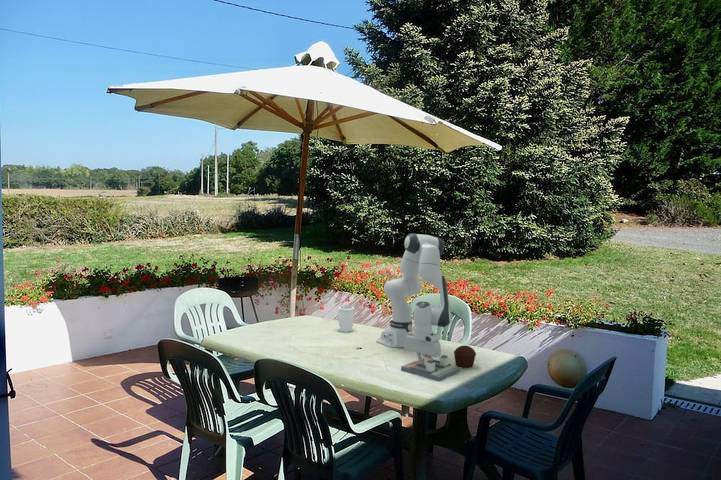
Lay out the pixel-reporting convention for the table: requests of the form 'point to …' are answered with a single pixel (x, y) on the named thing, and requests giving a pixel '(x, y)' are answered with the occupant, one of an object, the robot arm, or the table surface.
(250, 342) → the table surface
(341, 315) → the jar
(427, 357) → the breaker mid
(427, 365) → the breaker
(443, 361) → the breaker
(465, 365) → the muffin
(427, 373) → the panel
